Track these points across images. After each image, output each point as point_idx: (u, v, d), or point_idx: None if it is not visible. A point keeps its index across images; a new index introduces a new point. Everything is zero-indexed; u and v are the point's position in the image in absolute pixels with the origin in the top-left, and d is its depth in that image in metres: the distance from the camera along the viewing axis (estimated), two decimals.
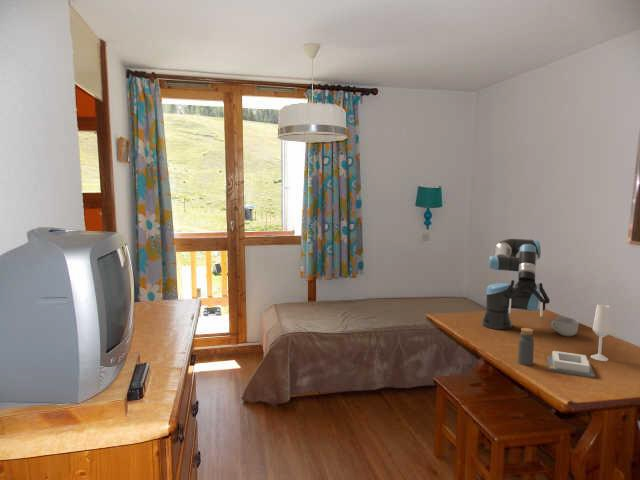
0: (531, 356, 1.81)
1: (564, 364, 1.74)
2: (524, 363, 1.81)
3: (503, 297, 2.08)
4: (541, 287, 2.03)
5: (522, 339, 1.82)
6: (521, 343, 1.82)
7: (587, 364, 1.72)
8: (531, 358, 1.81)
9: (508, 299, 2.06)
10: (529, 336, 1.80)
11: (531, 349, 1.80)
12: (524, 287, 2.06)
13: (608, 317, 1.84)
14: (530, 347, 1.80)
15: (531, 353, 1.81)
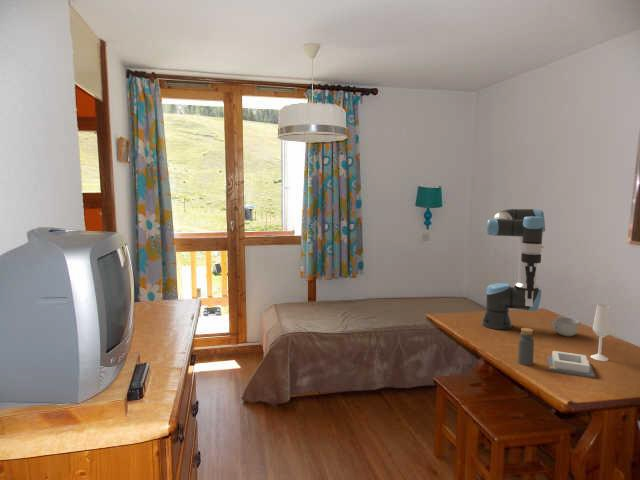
0: (531, 356, 1.81)
1: (564, 364, 1.74)
2: (524, 363, 1.81)
3: (528, 290, 1.71)
4: None
5: (522, 339, 1.82)
6: (521, 343, 1.82)
7: (587, 364, 1.72)
8: (531, 358, 1.81)
9: (531, 292, 1.73)
10: (529, 336, 1.80)
11: (531, 349, 1.80)
12: None
13: (608, 317, 1.84)
14: (530, 347, 1.80)
15: (531, 353, 1.81)
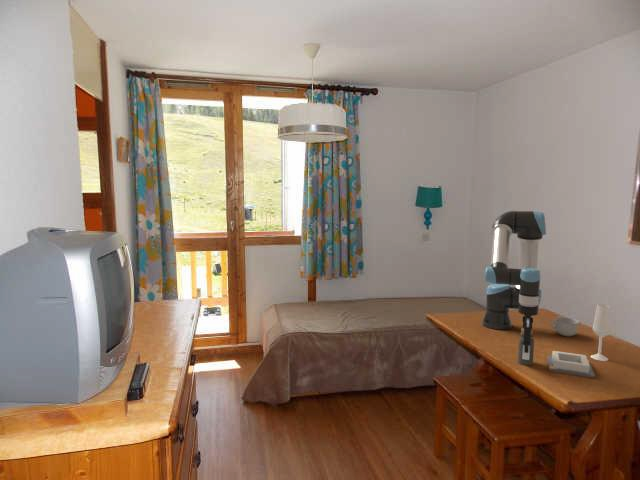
0: (531, 356, 1.81)
1: (564, 364, 1.74)
2: (524, 363, 1.81)
3: (525, 344, 1.77)
4: None
5: (522, 339, 1.82)
6: (521, 343, 1.82)
7: (587, 364, 1.72)
8: (531, 358, 1.81)
9: None
10: None
11: (531, 349, 1.80)
12: None
13: (608, 317, 1.84)
14: (530, 347, 1.80)
15: (531, 353, 1.80)
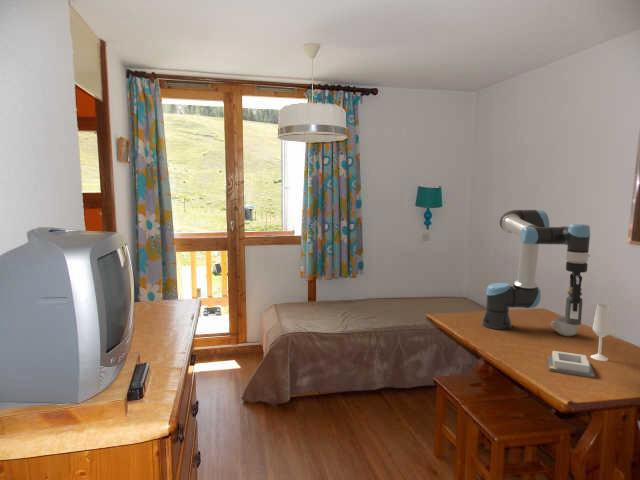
0: (580, 315, 1.74)
1: (564, 364, 1.74)
2: (572, 323, 1.75)
3: (574, 302, 1.70)
4: None
5: (570, 298, 1.75)
6: (569, 302, 1.75)
7: (587, 364, 1.72)
8: (579, 317, 1.74)
9: None
10: None
11: (580, 308, 1.74)
12: None
13: (608, 317, 1.84)
14: (579, 306, 1.73)
15: (580, 312, 1.74)
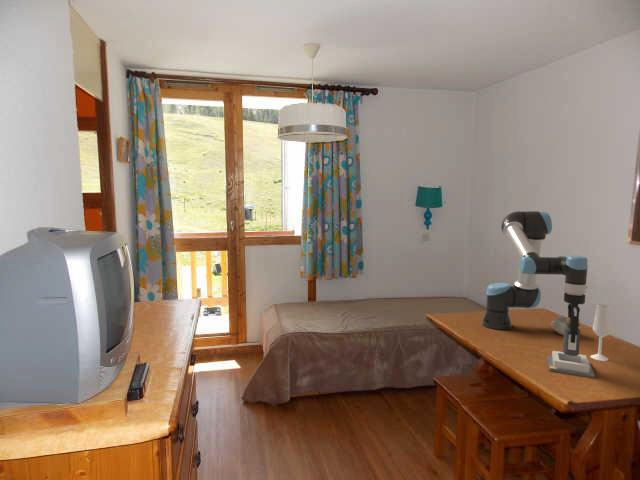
0: (577, 346, 1.75)
1: (564, 364, 1.74)
2: (570, 354, 1.76)
3: (572, 334, 1.72)
4: None
5: (568, 329, 1.76)
6: (567, 333, 1.76)
7: (587, 364, 1.72)
8: (577, 348, 1.76)
9: None
10: None
11: (578, 339, 1.75)
12: None
13: (608, 317, 1.84)
14: (577, 337, 1.75)
15: (577, 343, 1.75)
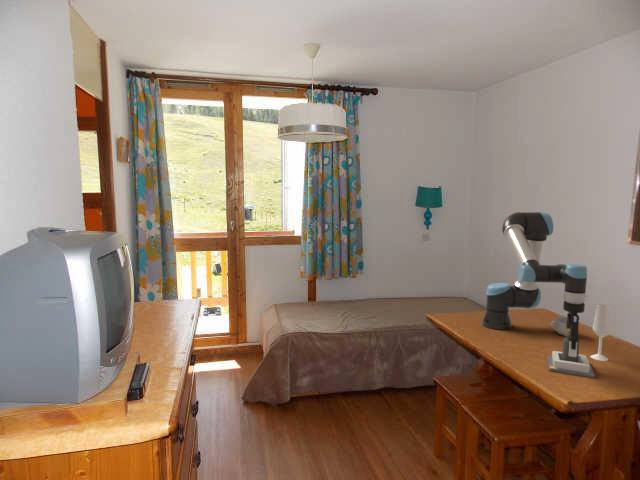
0: (576, 357, 1.76)
1: (564, 364, 1.74)
2: None
3: (573, 341, 1.69)
4: None
5: (567, 340, 1.77)
6: (566, 344, 1.77)
7: (587, 364, 1.72)
8: (576, 359, 1.77)
9: (575, 342, 1.70)
10: None
11: (577, 351, 1.76)
12: None
13: (608, 317, 1.84)
14: None
15: None
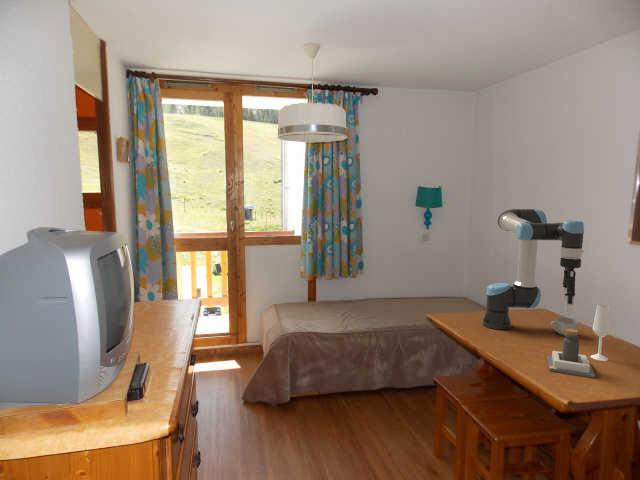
0: (576, 358, 1.76)
1: (564, 364, 1.74)
2: None
3: (569, 295, 1.70)
4: None
5: (567, 340, 1.77)
6: (566, 344, 1.77)
7: (587, 364, 1.72)
8: (576, 360, 1.77)
9: None
10: (574, 337, 1.76)
11: (577, 351, 1.76)
12: None
13: (608, 317, 1.84)
14: (575, 348, 1.76)
15: (576, 354, 1.76)
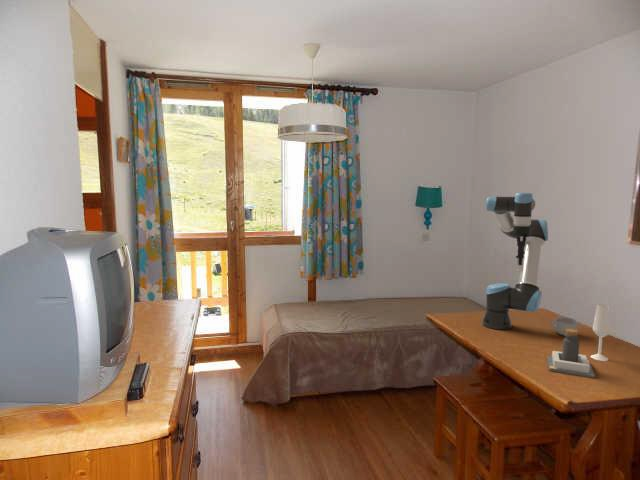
0: (576, 358, 1.76)
1: (564, 364, 1.74)
2: None
3: (519, 257, 1.94)
4: None
5: (567, 340, 1.77)
6: (566, 344, 1.77)
7: (587, 364, 1.72)
8: (576, 360, 1.77)
9: (522, 259, 1.96)
10: (574, 337, 1.76)
11: (577, 351, 1.76)
12: None
13: (608, 317, 1.84)
14: (575, 348, 1.76)
15: (576, 354, 1.76)
